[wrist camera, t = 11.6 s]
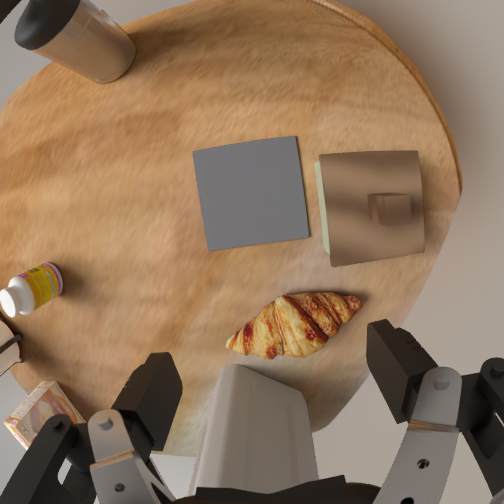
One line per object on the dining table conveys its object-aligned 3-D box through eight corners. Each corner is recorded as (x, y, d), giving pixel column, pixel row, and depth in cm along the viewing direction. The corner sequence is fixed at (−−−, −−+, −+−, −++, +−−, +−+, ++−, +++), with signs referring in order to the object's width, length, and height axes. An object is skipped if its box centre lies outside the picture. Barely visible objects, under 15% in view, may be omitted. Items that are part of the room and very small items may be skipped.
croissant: (237, 343, 46) (243, 384, 40) (210, 312, 40) (212, 360, 34) (354, 300, 43) (372, 339, 37) (348, 260, 37) (371, 304, 31)
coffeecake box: (88, 423, 51) (57, 473, 32) (72, 421, 52) (42, 467, 33) (56, 380, 48) (14, 427, 29) (42, 380, 48) (2, 422, 29)
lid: (318, 155, 29) (331, 148, 24) (413, 151, 28) (439, 146, 23) (330, 264, 32) (344, 281, 26) (420, 250, 31) (445, 262, 26)
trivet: (193, 152, 35) (192, 151, 35) (294, 136, 34) (295, 135, 34) (209, 250, 39) (208, 251, 38) (308, 236, 38) (309, 237, 37)
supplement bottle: (55, 257, 40) (7, 278, 28) (69, 290, 41) (24, 319, 29) (37, 267, 41) (-8, 288, 28) (49, 298, 42) (8, 325, 30)
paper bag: (284, 349, 42) (300, 510, 15) (307, 406, 45) (327, 536, 18) (181, 376, 44) (129, 509, 17) (216, 427, 47) (194, 544, 20)
